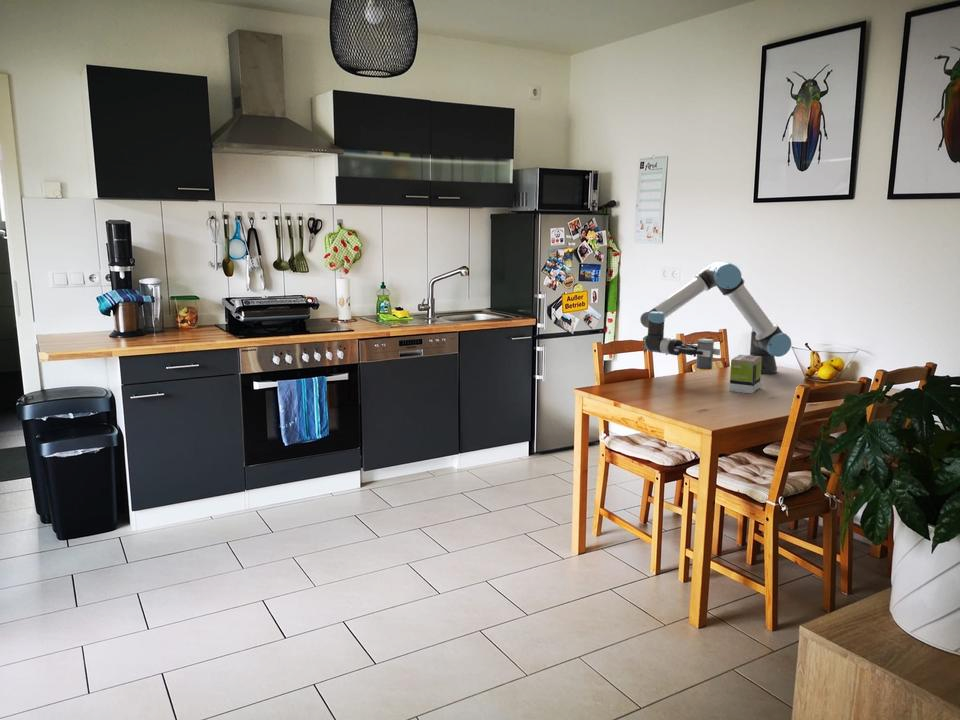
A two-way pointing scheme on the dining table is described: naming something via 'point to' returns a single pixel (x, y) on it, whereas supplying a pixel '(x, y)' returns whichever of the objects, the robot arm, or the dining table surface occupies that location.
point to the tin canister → (702, 360)
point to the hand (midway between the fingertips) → (714, 353)
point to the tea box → (745, 373)
